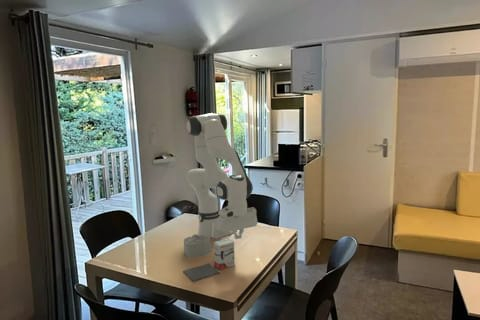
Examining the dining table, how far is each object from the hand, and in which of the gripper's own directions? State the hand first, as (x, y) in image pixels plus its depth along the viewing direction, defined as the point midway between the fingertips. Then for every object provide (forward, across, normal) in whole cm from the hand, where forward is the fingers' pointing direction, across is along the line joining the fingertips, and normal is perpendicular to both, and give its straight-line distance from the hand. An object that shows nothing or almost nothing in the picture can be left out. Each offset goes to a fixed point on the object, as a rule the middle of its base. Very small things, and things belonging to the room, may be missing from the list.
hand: (238, 238), depth 161 cm
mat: (+12, +19, 0) cm, 23 cm away
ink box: (+12, +7, 0) cm, 14 cm away
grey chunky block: (+12, +12, -21) cm, 27 cm away
